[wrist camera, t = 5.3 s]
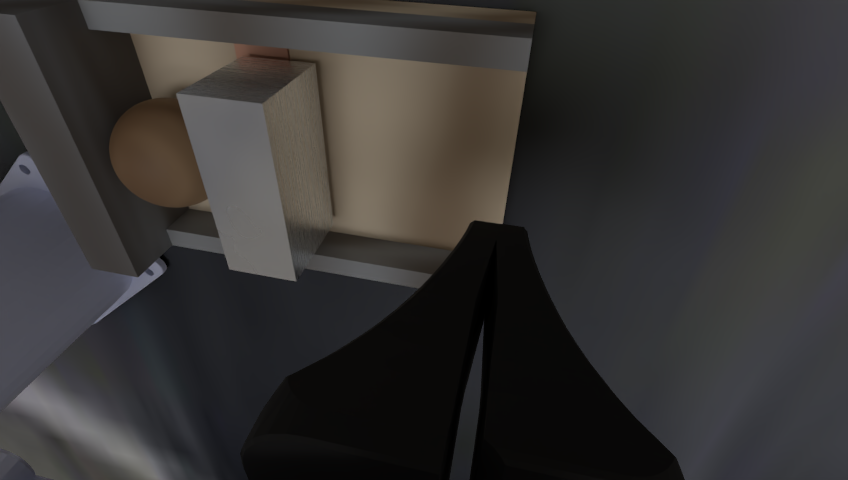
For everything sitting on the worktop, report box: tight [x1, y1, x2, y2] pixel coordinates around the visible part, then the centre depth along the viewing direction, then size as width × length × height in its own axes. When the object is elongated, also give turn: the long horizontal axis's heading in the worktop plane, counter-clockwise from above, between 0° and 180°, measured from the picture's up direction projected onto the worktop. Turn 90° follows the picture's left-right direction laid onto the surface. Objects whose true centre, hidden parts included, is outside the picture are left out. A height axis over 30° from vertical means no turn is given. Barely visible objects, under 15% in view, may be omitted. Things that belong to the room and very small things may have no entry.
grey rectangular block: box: [176, 56, 333, 281], centre depth 15 cm, size 2×6×3 cm, turn 0°
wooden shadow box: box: [0, 0, 536, 288], centre depth 16 cm, size 15×9×5 cm, turn 90°
